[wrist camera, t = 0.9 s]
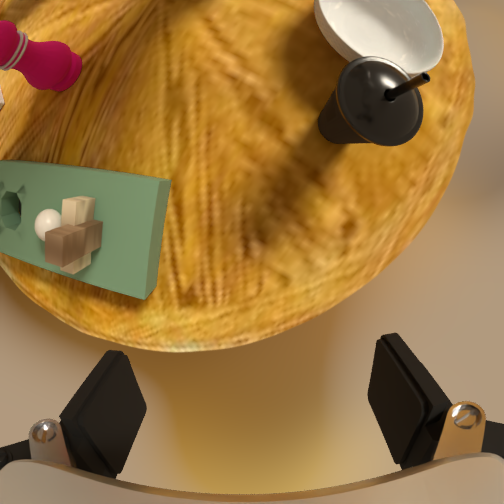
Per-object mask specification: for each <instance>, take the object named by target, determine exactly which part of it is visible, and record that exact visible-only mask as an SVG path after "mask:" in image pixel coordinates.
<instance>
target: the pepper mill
mask: <svg viewBox="0 0 504 504" xmlns="http://www.w3.org/2000/svg"><path fill="white" fill-rule="evenodd" d="M81 68H82V60H81V58H80V56H79V55H77V54H75V53H73V52H71V50H70V48H69V47H68V46H67V45H66V44H64V43H62V42H59V41H47V42H33V41H31V40H29V39H28V36H27V34H26V33H22V32H21V31H17V28H16V26H15V24H14V23H12V22H10V21H4V20H3V21H0V69H2V70H4V71H6V70H9V69H16V70H18V71H20V72H21V73H22V74H23V75H24V76H25V78H26V80H27V81H28V82H29V84H31V85H32V86H33V87H35V88H37V89H40V90H46V89H51V90H55V91H64V90H66V89H68V88H69V87H70V86H72V84H73V83H74V82H75V81H76V80H77V78H78V76H79V74H80V72H81Z"/></svg>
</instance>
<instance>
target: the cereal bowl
mask: <svg viewBox="0 0 504 504" xmlns="http://www.w3.org/2000/svg"><path fill="white" fill-rule="evenodd" d="M314 13H315V18H316V21H317V24H318V27H319V29H320V30H321V33H322V34H323V36H324V37H325V39H326V40H327V41H328V43H329V44H330V45H331V46H332V47H333V48H334V49H335V50H336V52H338V53H339V54H340V55H341V56H342V57H344V58H345V59H346V60H348V61H349V62H351V61H353V60H355V59H357V58H360V57H365V56H375V57H381V58H384V59H387V60H389V61H391V62H393V63H395V64H397V65H398V66H400V67H401V68H402V69H403V70H404V71H405V72H406V73H407V74H408V75H409V76H410V77H411V78H412V77H414V76H416V75H418V74H420V73H422V72H427V71H430V70H431V69H432V68H434V67H435V66H436V65H437V64H438V62H439V61H440V59H441V56H442V53H443V46H444V43H443V35H442V31H441V27H440V25H439V22H438V20H437V18H436V16H435V15H434V13H433V11H432V10H431V8H430V7H429V6H428V4H427V3H426V2H425V1H424V0H314Z"/></svg>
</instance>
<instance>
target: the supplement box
mask: <svg viewBox="0 0 504 504" xmlns="http://www.w3.org/2000/svg"><path fill="white" fill-rule="evenodd" d="M4 104H5V103H4V99H3V95H2V91H1V87H0V109H1V108H2V107H3V105H4Z"/></svg>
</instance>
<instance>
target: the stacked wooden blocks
mask: <svg viewBox="0 0 504 504" xmlns="http://www.w3.org/2000/svg"><path fill="white" fill-rule="evenodd" d="M94 207H95V198H92V197H87V196H78V197H73V198H67V199H63V201H62V215H61V227H58V228H55V229H52V230H49V231H46V232H45V262H47V263H50V264H53V265H56V266H59V267H60V270H61V271H64V272H67V273H70V274H73V275H74V274H75V273H77V272H78V271H80V270H82V269H83V268H85V267H86V266H88V265H90V264H91V252H92V251H94V250H96V249H97V248H99V247H101V240H102V228H103V221H98V220H94V219H93V218H94Z"/></svg>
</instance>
